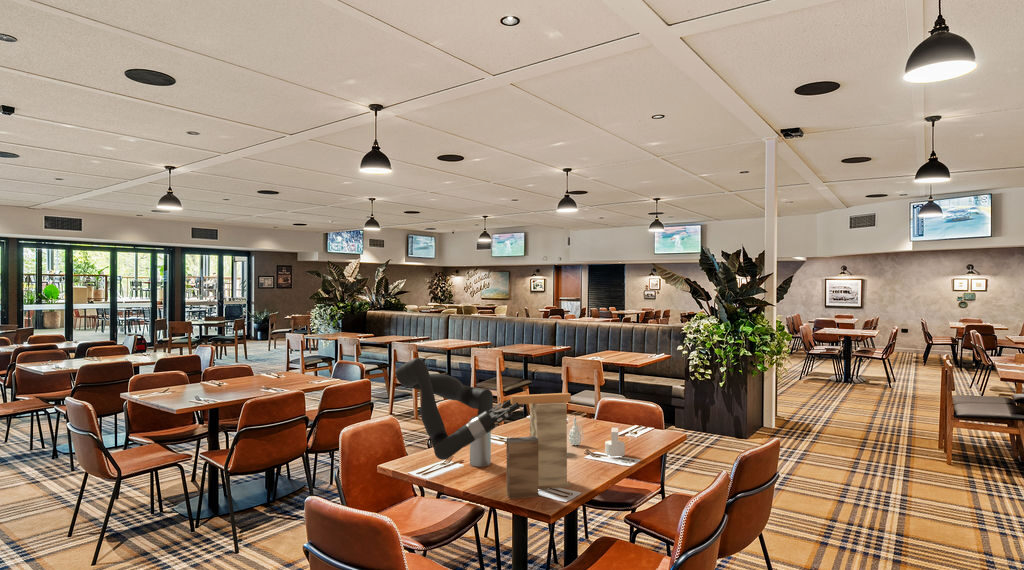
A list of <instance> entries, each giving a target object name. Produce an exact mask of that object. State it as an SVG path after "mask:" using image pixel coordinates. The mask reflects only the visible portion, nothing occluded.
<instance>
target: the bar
mask: <svg viewBox="0 0 1024 570" xmlns="http://www.w3.org/2000/svg"><path fill="white" fill-rule="evenodd" d="M571 394H572V393H569V392H558V393H556V392H555V393H540V394H539V393H537V394H534V393H533V394H514V395H510V397H509V398H510V399H509V400H510V403H511V404H512V405H513V404H515V403H518V404H519V405H530V404H534V403H554V402H565V403H567V402H569V403H571V402H572V395H571ZM512 405H511V406H512Z"/></svg>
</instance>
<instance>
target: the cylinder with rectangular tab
mask: <svg viewBox="0 0 1024 570" xmlns="http://www.w3.org/2000/svg"><path fill="white" fill-rule="evenodd" d="M610 432H611V433H610V438H611V439H610V440H606V441H604V455H605V454H607V455H610V456H624V455H625V456H626V454H625V453H626V449H625V447H626V443H625V442H624V441H622V440H619V427H611V430H610Z"/></svg>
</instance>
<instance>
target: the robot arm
mask: <svg viewBox="0 0 1024 570" xmlns="http://www.w3.org/2000/svg"><path fill="white" fill-rule="evenodd" d="M395 378H396V380H397V382H398V383H399V384H400V385H402V386H403V387H405V388H409V389H413V390H419V391H420V393H421V394H420V395H421V403H420V404H421V405H420V417H421V421H422V424H423V426H424V429H425V431H426V434H427V435H428V437H429V439H430V442H431V445H432V448H433V452H434V456H435V457H436V458H437V459H439V460H443V461H444V460H448V459H450V458H451V457H452V456H454V455H455V454H456V453H458V452H459V451H461V450H462V449H463V448H465V447H467V446H469V466H472V467H477V468H478V467H479V468H482V467H488V466H490V465H491V462H492V456H491V455H492V451H491V450H492V446H491V445H492V437H491V436H492V431H493V430H494V429H496V426H497V425H496V424H495V423H498V424H501V423H502V422H504V421H506V420H507V419H509V418H510V417H512V416H513V413H514V412H515V411H517V410H519V409H520V408H521V404H518V403H515V404H513V405H512V404H511V403H510V399H508V400H507V401H505V402H499V403H498V404H497V405H495V406H494V396H493V392H492V390H490V389H488V388H484V387H483V388H482V387H474V386H468V385H465V384H463V383H462V382H461V381H460V380H459V379H458V378H456V377H454V376H452V375H451V376H450V375H449V374H445V373H430V372H429V368H428V366H427V364H426V362H425V361H424V360H423V359H421V358H419V357H415V358H413V359H411V360H409V361H407V362H405V363H403V364H401V365H400V366H399V367H398V368H397V369H396V371H395ZM435 396H438V397H440V398H444V399H447V400H451V401H457V402H460V403H462V404H463V405H466V406H468V407H469V408H472V409H476V410H477V415H475V416H472V417H470V419H469V421H467V423H465V424H464V425H462V426H461V427H458V428H457V430H455V431H454V432H453V433H451V434H450V435H448V433H447V431H446V428H445V424H444V421H443V419H442V415H441V414H440V411H439V409H438V405H437V402H436V398H435Z"/></svg>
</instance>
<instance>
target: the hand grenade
mask: <svg viewBox="0 0 1024 570" xmlns="http://www.w3.org/2000/svg"><path fill="white" fill-rule="evenodd" d="M577 422H580V423H581V421H580V420H577V417H576V416H574V417H573V425H572V427H571V428H570V429H569V433H568V441H569V444H570V445H572V444H573V445H578V446H579V445H580V444H581V441H584V440H585V439H584V429H583V428H582V426H581V425H578V424H577Z"/></svg>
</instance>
